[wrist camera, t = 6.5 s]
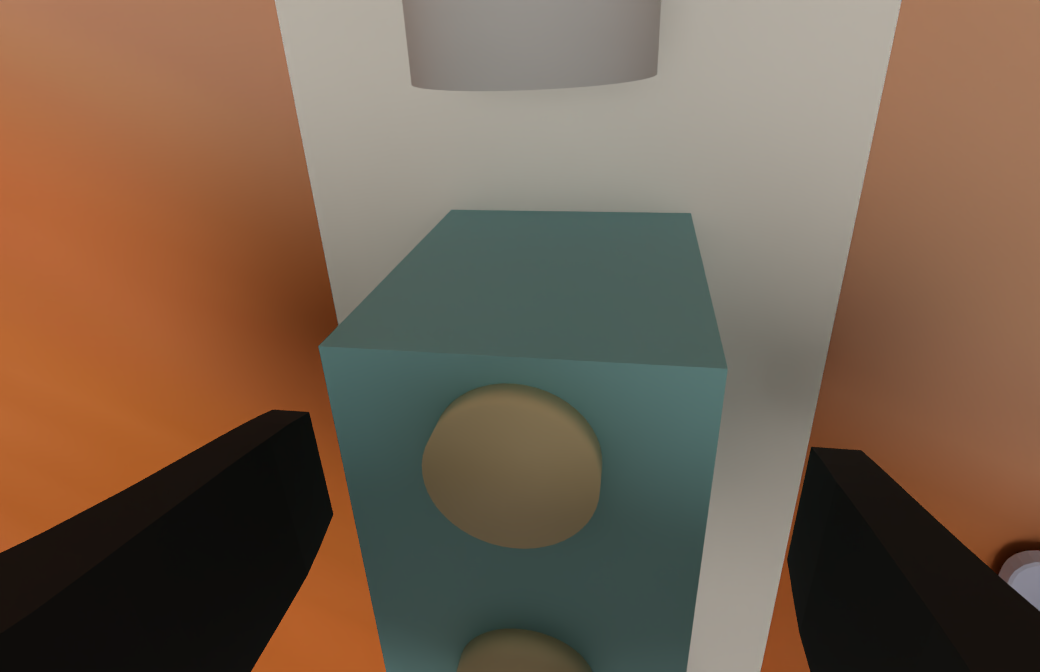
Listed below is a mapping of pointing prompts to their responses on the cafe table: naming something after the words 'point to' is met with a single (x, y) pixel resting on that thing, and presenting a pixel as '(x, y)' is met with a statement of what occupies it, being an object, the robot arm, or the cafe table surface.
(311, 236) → the cafe table surface
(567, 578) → the teal block
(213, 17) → the cafe table surface
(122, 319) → the cafe table surface
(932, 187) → the cafe table surface
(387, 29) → the shaft stand
